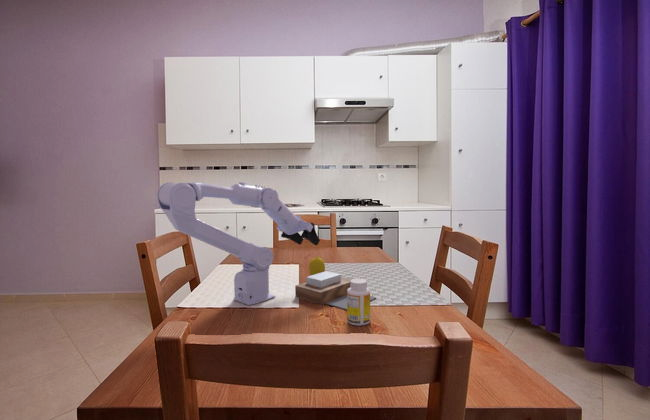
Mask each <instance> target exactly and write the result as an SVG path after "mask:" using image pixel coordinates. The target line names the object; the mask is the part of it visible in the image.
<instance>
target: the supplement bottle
mask: <svg viewBox="0 0 650 420" xmlns="http://www.w3.org/2000/svg"><path fill="white" fill-rule="evenodd" d="M370 296H371V290H370V288H369V287H368V282H367V280H366V279H364V278H363V279H362V278H353V280H351V281H350V288H348V290H347V310H346V318H347V319H346V320H347V322H348V324H350V325H352V326H360V327H362V326H367V325H368V324H369V323H370V322H371V301H370Z"/></svg>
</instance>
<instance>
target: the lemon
mask: <svg viewBox="0 0 650 420" xmlns="http://www.w3.org/2000/svg"><path fill="white" fill-rule="evenodd" d="M325 271H326V267H325V261H324V260H323V258H321V257H319V256H315V257H313V258H312V259H311V260H310V262H309V265H308V272H309V276H311V275H315V274H318V273H322V272H325Z"/></svg>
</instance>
